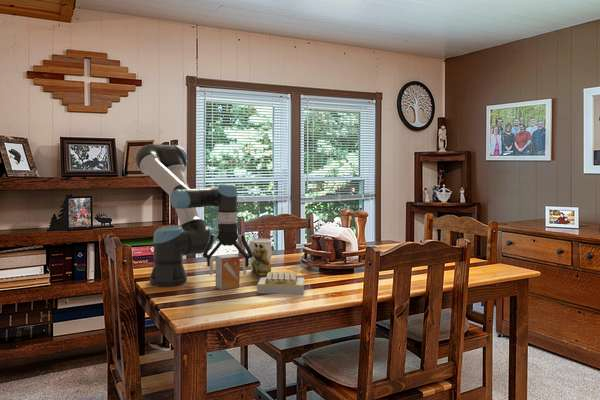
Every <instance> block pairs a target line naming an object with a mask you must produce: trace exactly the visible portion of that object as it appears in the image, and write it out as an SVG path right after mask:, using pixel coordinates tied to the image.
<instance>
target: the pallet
mask: <svg viewBox="0 0 600 400" xmlns="http://www.w3.org/2000/svg"><path fill="white" fill-rule="evenodd" d="M297 278H298V275H297V272H290V271H289V272H283V271H280V272H278V271H275V272H273V271H271V272H268V275H267V277H266V281H265V284H296V280H297Z"/></svg>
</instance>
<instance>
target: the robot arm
mask: <svg viewBox="0 0 600 400" xmlns="http://www.w3.org/2000/svg"><path fill="white" fill-rule="evenodd" d="M134 159H135V160H134V161H135V166H137V168H138V170H139V171H140V172H141V173H142V174H144V175H147V176H149V177H150V178H151V179H152V180H153V181H154V182H155V183H156V184H157V185H158V186H159V187H160V188H161V189H162V190H163V191H164V192H166V194H168V196H169V202H170V203H171V207H172V208H173V209H175V212H176V215H177V218H178V220H179V221H178V222H179V224H178V225H176V224H175V225H167V226H165V225H164V226H162V227H159V228H157V229H156V230H155V231H154V232H153V239H152V241H153V267H152V270H151V274H150V277H149V284H150V285H151V286H155V287H175V286H181V285H184V284H186V283H188V277H187V273H186V270H185V267H184V265H183V263H184V261H183V256H189V255H190V256H191V255H200V254H202V258H206V266H207V267H209V276H212V275H213V274H214V258H213V255H214V254H215V253H216V252H217V250H219V248H220V247H221V246H224V247H225V246H231V247H232V246H234V247H235V248H236V249H237V250H238V252H239V254H241V256H243V262H242V264H243V266H242V267H243V269H242V272H243V273H242V274H243V276H246V275H247V268H249V265H250V259H249V258H252V257H253V253H252V251H251V249H250V247H249V246H250V244H249V243H248V241H247V239H246V235H245V233H244V234H243V233H242V234H239V233H238V223H237V221H238V190H237V189H238V187H237V185H236V184H234V183H232V184H231V183H230V184H229V183H225V184H223V183H221V184H218V185H217V188H213V187H206V188H205V187H204V188H190V186H189V185H188V181H187V178H186V176H185V175H186V174H185V172H186V169H187V168H186V167H187V166H188V156H187V151H186V150H185V149H184V148H183V147H182V146H181V145H176V144H151V143H149V144H145V145H143V146H142V147H140V148H139V149H138V151H136V154H135V158H134ZM208 207H209V208H211V207H217V211H218V212H217V219H218V220H217V221H218V222H219V223H218V225H217V227H218V232H217V233H218V234H215V232H214V230H213V228H212V227H211V226H210V225H206V224H205V220H204V219H203V218H200V217H199V214H198V209H197V208H208ZM216 239H218V241H219V242H218V243H217V244H216V245H215V246H214V242H215V241H216ZM238 239H239V240H240V241H242V244H243V246H244V248H245V250H246V251H245V250H244V249H243V248H242V246H241V245H240V244H239V243H238V241H237V240H238ZM213 247H214V248H213ZM212 248H213V249H212ZM211 250H212V251H211ZM209 251H210V252H209Z"/></svg>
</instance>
